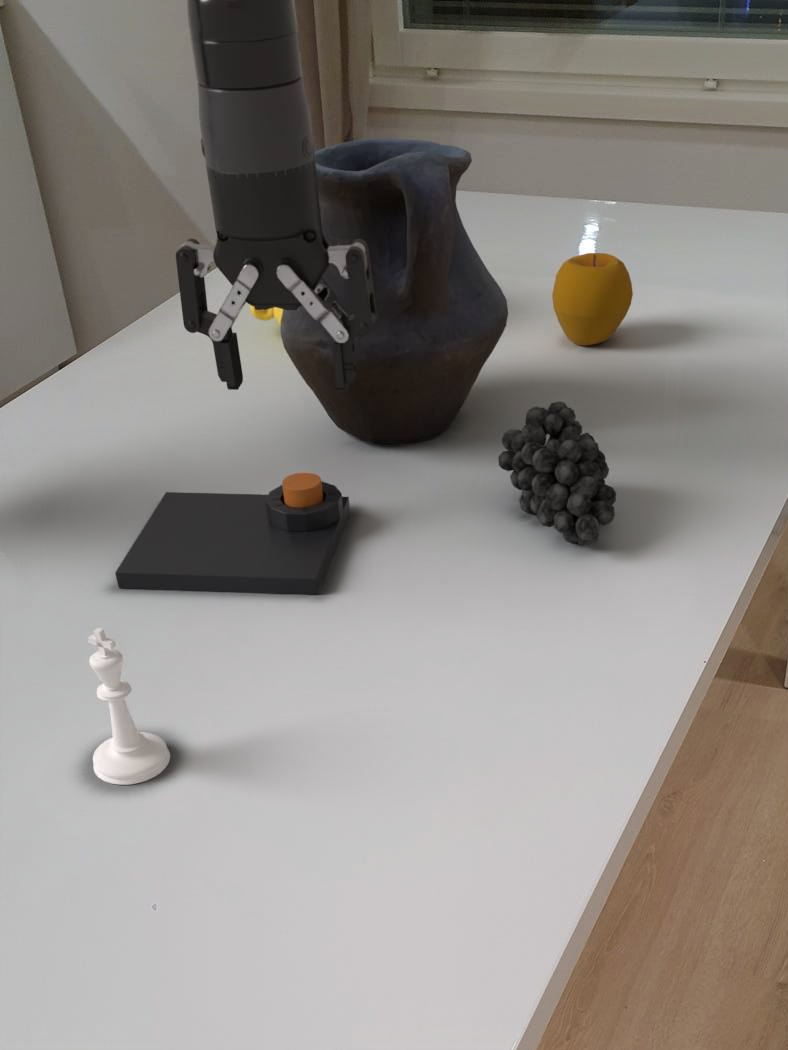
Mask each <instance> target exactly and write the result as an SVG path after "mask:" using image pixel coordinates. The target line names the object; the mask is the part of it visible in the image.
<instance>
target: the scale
mask: <svg viewBox="0 0 788 1050" xmlns="http://www.w3.org/2000/svg"><path fill="white" fill-rule="evenodd" d="M321 482H322V491H323V501H322V502H321V503H319V504H317V505H314V506H309V507H291V506H288V505H286V504H285V502H284V494H283V487H282V484H281V485H279V486H277V487H276V488H274V489H272V490H270V491H269V492H268V494H258V493H256V494H255V493H254V494H253V493H220V492H219V493H217V492H214V493H213V492H182V491H181V492H178V491H166V492H165V493H164V495H163V496H162V498H161V500H160V501H159V502H158V504H157V506H156V507H155V509H154V510H153V512H152V513H151V515H150V516H149V518H148V520H147V522H146V523H145V525H144V526H143V528H142V529H141V531H140V533H139V534H138V535H137V537H136V538H135V540H134V542H133V543H132V545H131V546H130V548H129V550H128V551H127V553H126V554H125V556H124V558H123V559H122V561H121V563H119V566H118V567H117V568H116V570H115V572H114V573H115V577H116V582H117V586H118V588H119V589H133V590H135V589H136V590H139V589H140V590H163V591H164V590H165V591H166V590H167V591H194V592H196V591H197V592H198V591H199V592H229V593H254V594H255V593H257V594H259V593H260V594H287V595H290V594H291V595H319V593H320V590H321V588H322V586H323V583H324V580H325V579H326V575H327V573H328V570H329V567H330V564H331V562H332V560H333V556H334V554H335V551H336V549H337V547H338V544H339V541H340V539H341V537H342V534H343V532H344V528H345V526H346V524H347V520H348V518H349V516H350V512H351V509H350V508H351V507H350V497H349V496H343V494H342V492H341V491H340V490H339V489H338V487H337V486H336V485H334V484H331V483H329V482H326V481H323V480H321Z"/></svg>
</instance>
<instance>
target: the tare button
mask: <svg viewBox="0 0 788 1050" xmlns="http://www.w3.org/2000/svg"><path fill="white" fill-rule="evenodd" d="M321 481H322V478H321V476H319V475H318V474H316V473H314V472H313V473H312V472H296V473H292V474H289V475H287V476H286V477H284V478H283V479H282V481H281V485H282V487H283V494H284V502H285V504H286V505H288V506H291V507H309V506H314V505H317V504H319V503H321V502H322V501H323V491H322V482H321Z"/></svg>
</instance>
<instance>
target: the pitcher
mask: <svg viewBox="0 0 788 1050" xmlns="http://www.w3.org/2000/svg"><path fill="white" fill-rule="evenodd" d="M314 155H315V164H316V174H317V184H318V194H319V204H320V214H321V224H322V232H323V235H324V238H325V240H326V242H327V243H328V245H329V246H340V245H352V243H353V242H354V241H355V240H357V239H362V240H364V241H365V242H366V243H367V245H368V251H369V258H370V266H371V273H372V280H373V288H374V295H375V302H376V310H377V319H376V321H375V323H374V325H373V327H372V330H371V331H370V333H369V334H366V335H362V334H361V335H359V336H356V337H355V338H354V339H355V351H356V363H357V373H356V376H355V378H354V380H353V382H352V384H349V386H348V389H347V391H337V390H336V384H335V374H334V364H333V354H332V342H333V340H334V339H333V337H332V336H331V335H330V334H329V333H328V331H327V330H326V329H325V328H324V327H323V325H322V324H321V323H320V322H319V321H316V320H315V319H314V318H313V317H312V316H311V315H310V314H309V313H308V311H307V310H306V309H305V308H304V306H301V307H298V308H297V310H284V309H283V313H282V317H281V326H280V337H281V342H282V344H283V348H284V350H285V353H286V354H287V356H288V357H289V358H290V360H291V362H292V364H293V366H294V367H295V369H296V371H297V372H298V373H299V375H300V376H301V378H302V380H303V381H304V383H305V384H306V385H307V386H308V388H310V390H311V391H312V392H313V394H314V396H315V397H316V399H317V400H318V401H319V403H320V405H321V406H322V408H323V409H324V410H325V412H326V414H327V415H328V417H329V419H330V420H331V421H332V422H333V423H334V425H335V426H336V427H337V428H338V429H340V430H341V431H343V432H344V433H347V434H348V435H351V436H353V437H355V438H357V439H359V440H361V441H368V442H369V441H370V442H372V443H376V444H400V443H401V444H402V443H413V442H419V441H424V440H429V439H430V440H431V439H433V438H438V437H439V436H441V435H442V434H443V433H444V432H446V431H447V430H448V429H449V427H450V426H451V425H452V423H453V422H454V420H455V419H456V418H457V416H458V415H459V414H460V411H461V410H462V407H464V406H463V405H464V404H465V402H466V400H467V398H468V397H469V395H470V392H471V390H472V388H473V386H474V384H476V381H477V380H478V377H479V375H480V373H481V370H482V369H483V367H484V365H485V364H486V362H487V361H488V360H489V358H490V356H491V355H492V353H493V351H494V349H495V348H496V346H497V345H498V342H499V341H500V339H501V337H502V335H503V334H504V331H505V329H506V327H507V322H508V316H509V310H508V309H509V308H508V300H507V298H506V296H505V294H504V292H503V290H502V288H501V286H500V285H499V284H498V282H497V281H496V279H495V278H494V277H493V276H492V274H491V273H490V271H489V270H488V268H487V266H486V265H485V263H484V261H483V260H482V258H481V256H480V254H479V253H478V251H477V250H476V247H475V246H474V244H473V241H472V240H471V238H470V236H469V235H468V232H467V230H466V228H465V226H464V224H463V221H462V218H461V216H460V212H459V210H458V206H457V201H456V200H457V189H458V188H457V186H458V184H459V182H460V180H461V177H462V176H463V174H465V173H466V171H467V170H468V169H469V167H470V166H471V164H472V161H473V160H472V159H473V158H472V155H471V152H469V151H468V150H466V149H464V148H462V147H458V146H455V145H449V144H448V145H447V144H440V143H438V142H434V141H430V140H422V139H409V138H408V139H406V138H389V137H376V138H375V137H374V138H364V139H359V140H353V141H351V140H350V141H345V142H342V143H338V144H335V145H332V146H328V147H323V148H321V149H318V150H316V151H314ZM322 278H323V279H324V280H325V282H326V283H327V284H328V285H329V287H330V288H331V289H332V290H333V292H334V293H335V294H336V296H337V300H338V302H339V303H340V304H341V305H342V307H343V308H344V309H345V310H346V311H347V313H348V314H349V315H352V314H354V312H353V306H352V299H351V292H350V285H349V279H345V278H343V277H342V276H341V275H340V273H339V270H338V268H337V267H336V266H335V265H334V264H332V263H330V264H329V266H328V267H327V269H326V271H325V272H324V274H323V276H322ZM320 290H321V289H320Z"/></svg>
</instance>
